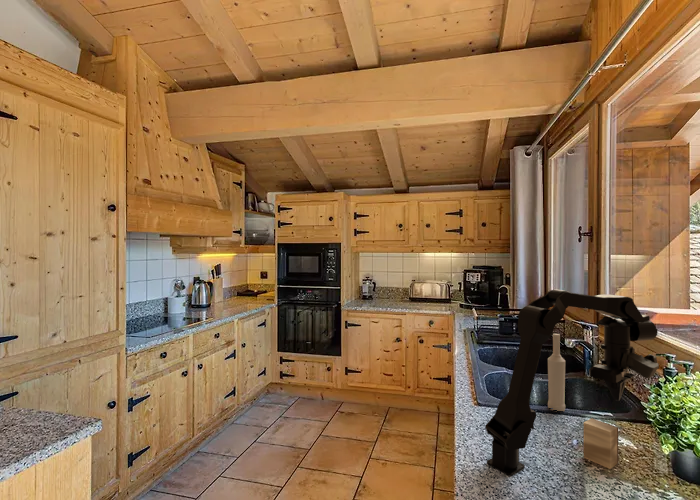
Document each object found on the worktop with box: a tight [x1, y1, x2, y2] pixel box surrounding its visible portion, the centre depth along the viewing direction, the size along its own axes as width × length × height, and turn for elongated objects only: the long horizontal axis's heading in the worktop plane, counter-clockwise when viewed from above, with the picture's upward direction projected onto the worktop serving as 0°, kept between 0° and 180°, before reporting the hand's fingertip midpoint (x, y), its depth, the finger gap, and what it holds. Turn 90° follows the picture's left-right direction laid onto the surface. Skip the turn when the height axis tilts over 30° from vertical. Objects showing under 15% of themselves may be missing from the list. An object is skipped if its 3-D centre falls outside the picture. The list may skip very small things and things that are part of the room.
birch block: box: [583, 417, 619, 470], centre depth 94 cm, size 4×6×9 cm
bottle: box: [547, 333, 566, 412], centre depth 124 cm, size 5×5×25 cm
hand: (617, 400), depth 99 cm, fingers closed
